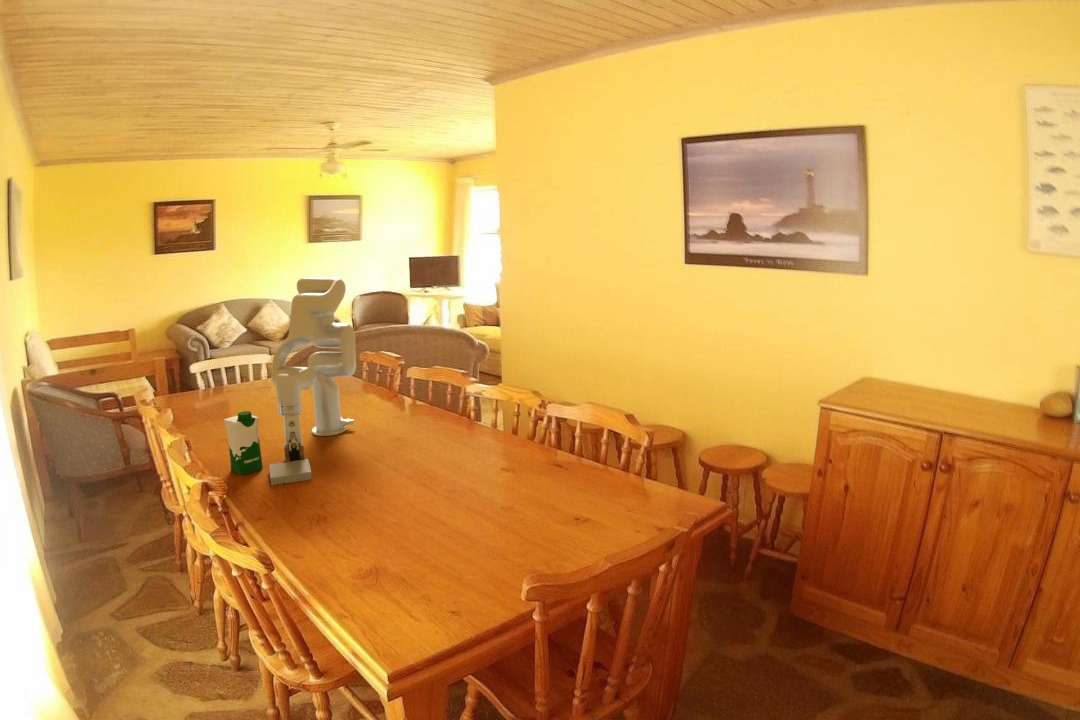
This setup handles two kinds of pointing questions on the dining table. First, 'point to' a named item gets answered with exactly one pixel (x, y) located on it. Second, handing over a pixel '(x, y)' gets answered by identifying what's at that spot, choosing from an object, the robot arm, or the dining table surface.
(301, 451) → the walnut block
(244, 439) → the soya milk
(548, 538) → the dining table surface
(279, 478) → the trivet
